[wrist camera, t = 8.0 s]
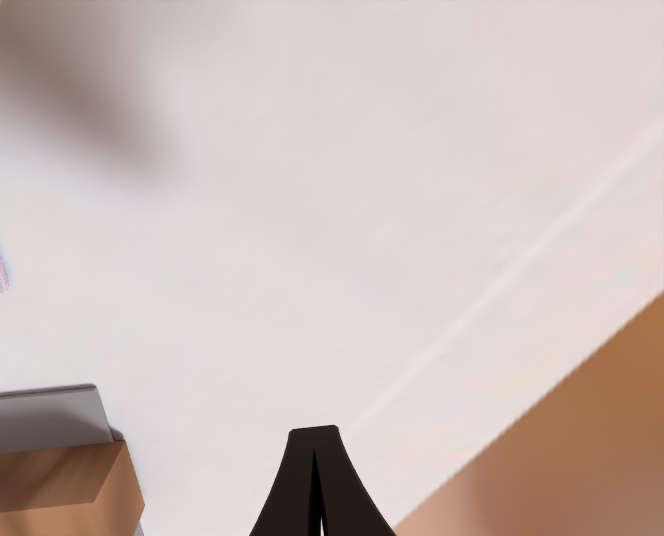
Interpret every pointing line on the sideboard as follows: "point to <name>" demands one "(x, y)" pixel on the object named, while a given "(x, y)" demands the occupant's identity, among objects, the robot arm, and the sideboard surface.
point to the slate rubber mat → (53, 422)
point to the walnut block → (70, 492)
